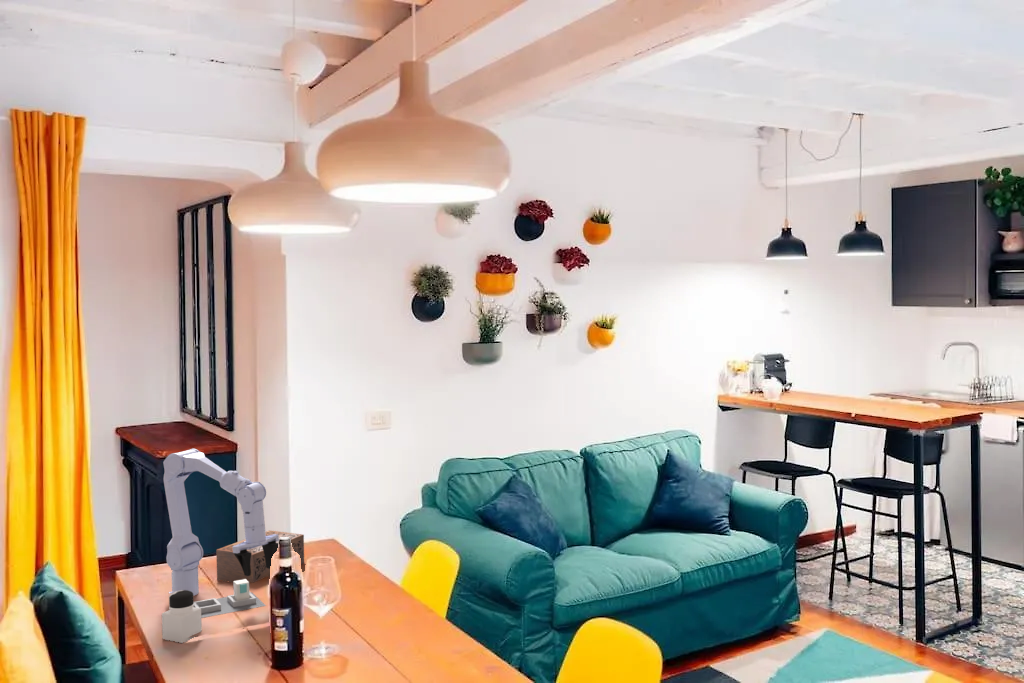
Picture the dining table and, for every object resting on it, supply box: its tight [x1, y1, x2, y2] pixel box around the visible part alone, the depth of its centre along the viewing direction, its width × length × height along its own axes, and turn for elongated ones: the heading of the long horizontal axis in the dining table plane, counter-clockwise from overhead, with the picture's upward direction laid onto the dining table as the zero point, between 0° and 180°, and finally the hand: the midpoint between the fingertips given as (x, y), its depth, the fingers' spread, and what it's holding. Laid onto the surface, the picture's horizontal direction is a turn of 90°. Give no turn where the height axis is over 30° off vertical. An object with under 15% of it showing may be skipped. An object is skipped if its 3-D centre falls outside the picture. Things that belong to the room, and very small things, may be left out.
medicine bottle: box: [161, 590, 203, 644], centre depth 239 cm, size 7×7×12 cm
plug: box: [232, 579, 250, 601], centre depth 263 cm, size 4×4×6 cm
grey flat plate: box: [193, 591, 267, 619], centre depth 261 cm, size 14×20×2 cm
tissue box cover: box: [216, 530, 305, 583], centre depth 296 cm, size 26×14×10 cm, turn 156°
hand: (258, 571), depth 262 cm, fingers open, 7 cm apart
